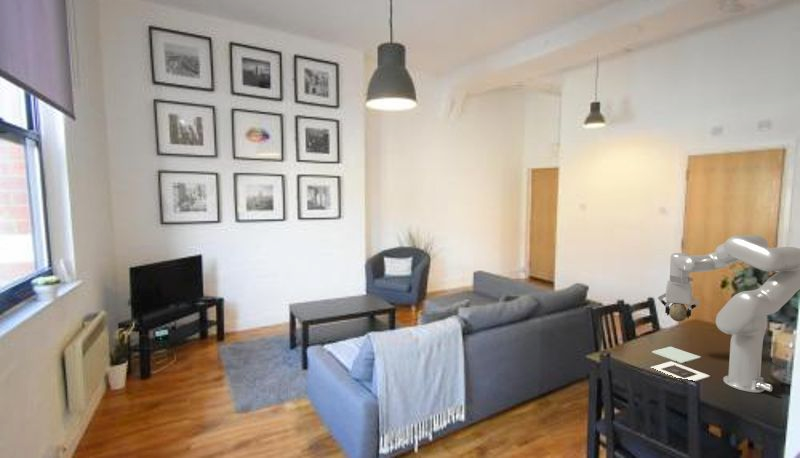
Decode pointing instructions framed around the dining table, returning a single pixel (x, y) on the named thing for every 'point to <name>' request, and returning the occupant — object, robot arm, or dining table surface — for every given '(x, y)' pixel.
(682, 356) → the sage mat
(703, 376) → the white square frame
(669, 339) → the dining table surface
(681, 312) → the decorative egg
